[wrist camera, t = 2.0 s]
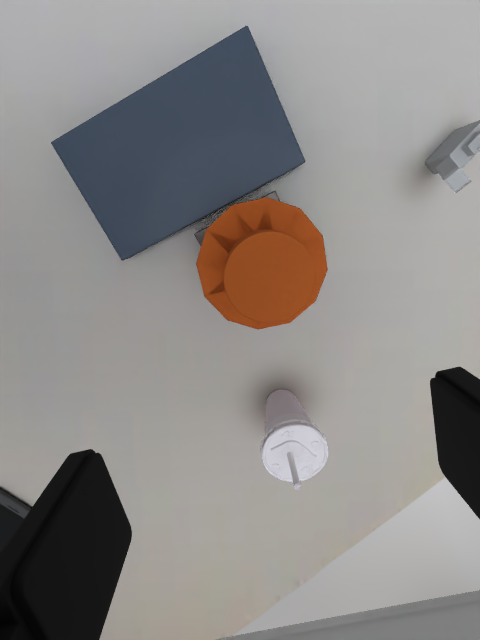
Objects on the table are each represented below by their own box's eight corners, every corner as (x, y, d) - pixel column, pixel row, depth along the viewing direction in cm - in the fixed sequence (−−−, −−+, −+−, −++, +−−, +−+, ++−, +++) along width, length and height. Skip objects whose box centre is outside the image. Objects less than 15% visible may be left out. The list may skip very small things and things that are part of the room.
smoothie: (263, 373, 42) (277, 447, 29) (315, 385, 43) (353, 463, 29) (248, 420, 44) (256, 511, 30) (299, 431, 44) (328, 525, 31)
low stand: (128, 258, 38) (121, 260, 36) (62, 147, 35) (50, 142, 33) (300, 165, 36) (305, 161, 34) (246, 38, 33) (247, 24, 31)
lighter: (456, 128, 35) (518, 104, 28) (467, 141, 36) (531, 120, 28) (402, 186, 37) (446, 178, 29) (413, 198, 37) (460, 193, 29)
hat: (234, 347, 29) (234, 379, 24) (173, 237, 27) (156, 242, 21) (346, 293, 28) (375, 312, 23) (293, 172, 26) (310, 159, 20)
